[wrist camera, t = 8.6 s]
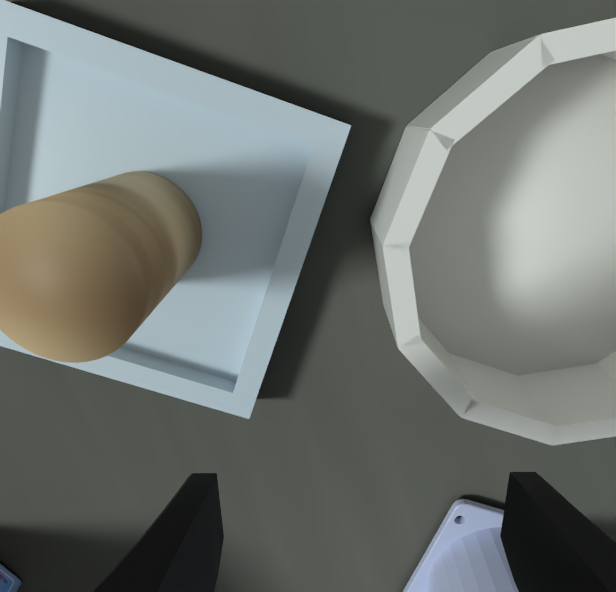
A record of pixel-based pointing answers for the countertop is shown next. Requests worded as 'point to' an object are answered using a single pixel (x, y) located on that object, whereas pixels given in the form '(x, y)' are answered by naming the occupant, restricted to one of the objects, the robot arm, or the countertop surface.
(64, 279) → the oak plug
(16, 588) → the ink cartridge box
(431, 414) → the countertop surface
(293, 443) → the countertop surface
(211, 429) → the countertop surface
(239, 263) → the blue-grey tray
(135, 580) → the robot arm
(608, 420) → the white faceted bowl
